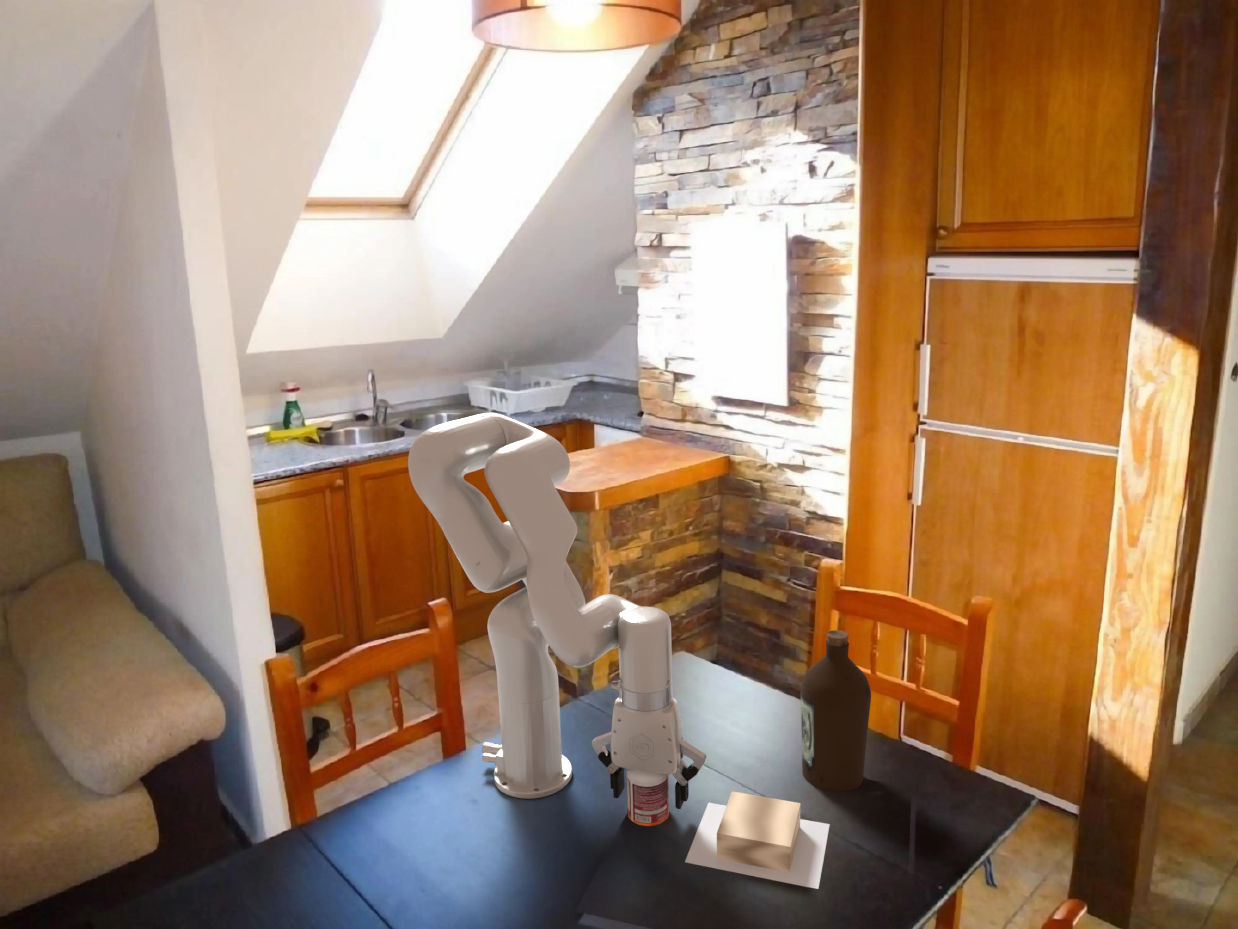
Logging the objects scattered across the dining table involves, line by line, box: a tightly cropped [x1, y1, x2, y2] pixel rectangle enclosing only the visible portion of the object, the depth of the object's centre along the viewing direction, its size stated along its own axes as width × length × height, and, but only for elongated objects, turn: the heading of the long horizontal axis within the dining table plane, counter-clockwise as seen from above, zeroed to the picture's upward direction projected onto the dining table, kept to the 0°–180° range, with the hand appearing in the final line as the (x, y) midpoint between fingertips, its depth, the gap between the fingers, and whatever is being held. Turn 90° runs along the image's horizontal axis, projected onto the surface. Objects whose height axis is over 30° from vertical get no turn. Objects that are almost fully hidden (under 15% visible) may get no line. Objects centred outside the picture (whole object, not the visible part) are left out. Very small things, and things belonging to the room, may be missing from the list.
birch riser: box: [717, 790, 802, 873], centre depth 126 cm, size 10×10×4 cm
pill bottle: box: [626, 769, 670, 827], centre depth 133 cm, size 6×6×11 cm
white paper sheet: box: [684, 802, 831, 890], centre depth 127 cm, size 18×14×1 cm
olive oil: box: [799, 629, 872, 793], centre depth 140 cm, size 11×11×25 cm
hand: (649, 798), depth 133 cm, fingers open, 9 cm apart
